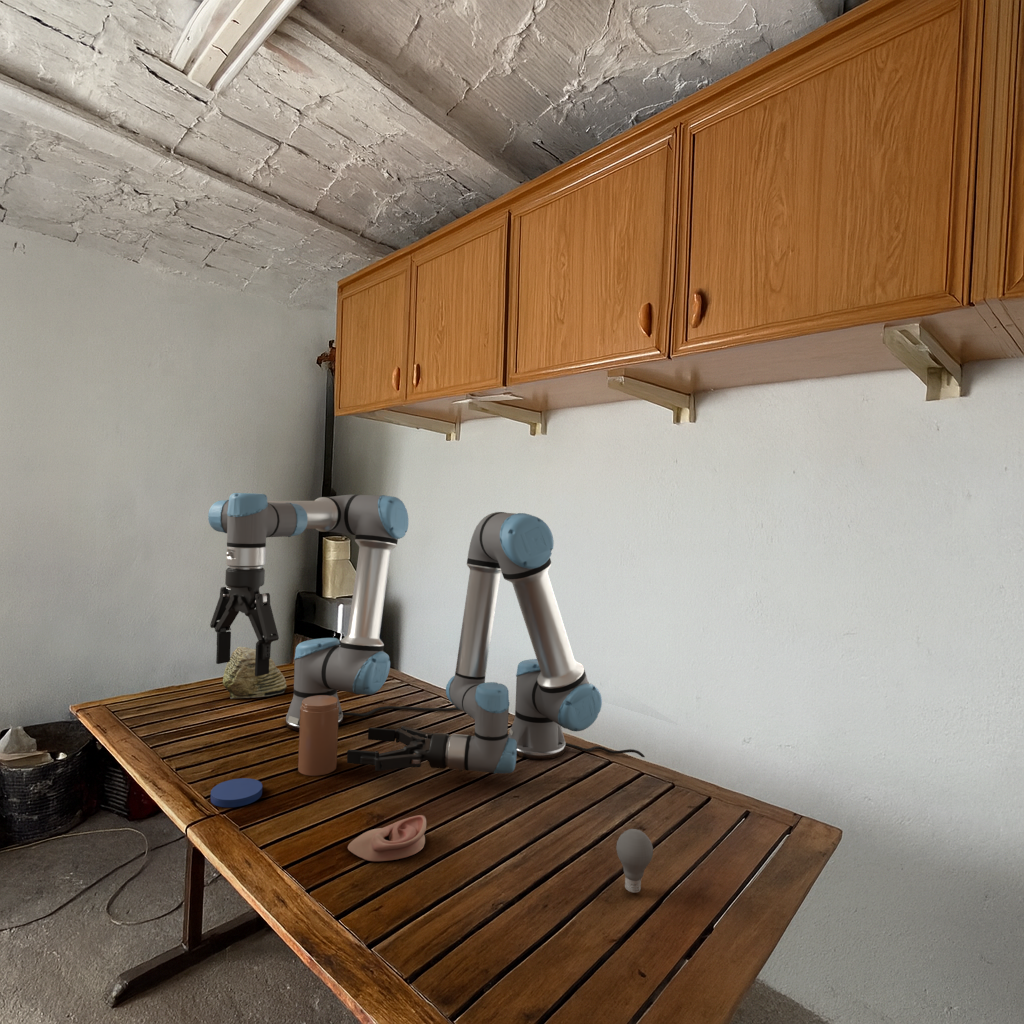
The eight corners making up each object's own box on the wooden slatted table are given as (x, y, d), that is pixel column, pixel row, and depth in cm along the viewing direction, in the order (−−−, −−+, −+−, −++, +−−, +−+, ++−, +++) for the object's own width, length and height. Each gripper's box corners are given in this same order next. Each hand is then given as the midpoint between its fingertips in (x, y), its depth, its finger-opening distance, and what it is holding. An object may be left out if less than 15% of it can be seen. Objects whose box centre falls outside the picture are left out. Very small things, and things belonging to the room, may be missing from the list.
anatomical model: (340, 834, 112) (368, 804, 123) (339, 856, 112) (367, 824, 123) (411, 845, 109) (433, 813, 120) (410, 868, 109) (432, 834, 120)
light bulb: (610, 879, 108) (613, 822, 108) (644, 879, 109) (647, 822, 109) (619, 902, 102) (622, 840, 102) (655, 901, 103) (658, 840, 103)
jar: (316, 779, 142) (319, 709, 142) (289, 769, 146) (292, 701, 146) (344, 765, 149) (347, 699, 149) (317, 757, 154) (320, 692, 153)
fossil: (218, 695, 195) (220, 647, 195) (278, 685, 208) (279, 640, 207) (228, 703, 189) (230, 653, 188) (289, 692, 201) (290, 645, 201)
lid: (222, 784, 137) (222, 777, 137) (268, 785, 138) (269, 778, 138) (202, 807, 127) (202, 799, 127) (252, 808, 128) (252, 800, 128)
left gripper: (194, 562, 136) (191, 661, 136) (266, 574, 122) (262, 684, 122) (227, 560, 142) (224, 654, 142) (299, 571, 128) (295, 676, 128)
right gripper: (435, 793, 132) (337, 784, 134) (458, 746, 157) (375, 740, 159) (436, 757, 132) (338, 749, 134) (459, 716, 157) (376, 710, 159)
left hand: (241, 668), depth 132 cm, fingers open, 13 cm apart
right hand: (358, 744), depth 147 cm, fingers open, 13 cm apart
